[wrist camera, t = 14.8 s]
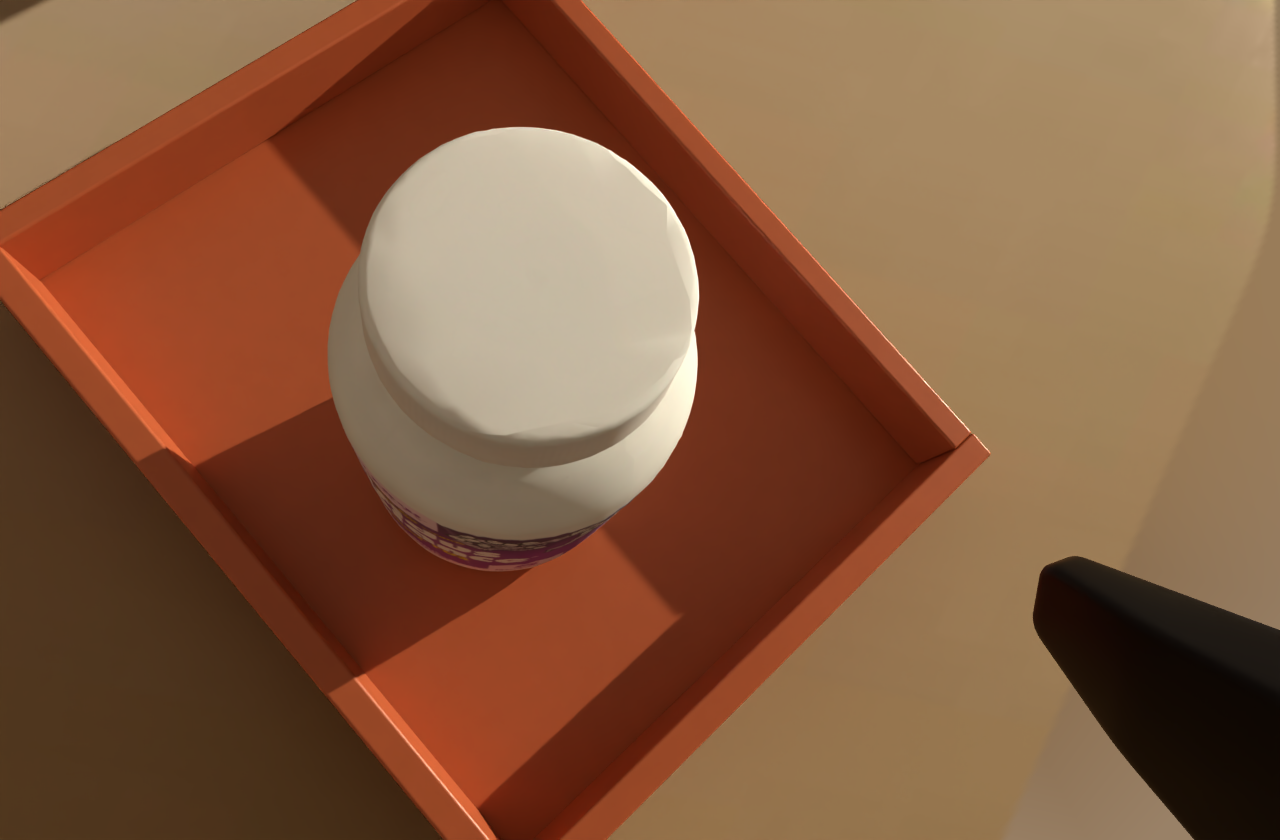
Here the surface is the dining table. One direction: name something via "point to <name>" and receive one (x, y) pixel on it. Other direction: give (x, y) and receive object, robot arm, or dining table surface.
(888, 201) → the dining table surface
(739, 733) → the dining table surface
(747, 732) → the dining table surface
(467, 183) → the pill bottle
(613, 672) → the tray
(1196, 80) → the dining table surface
